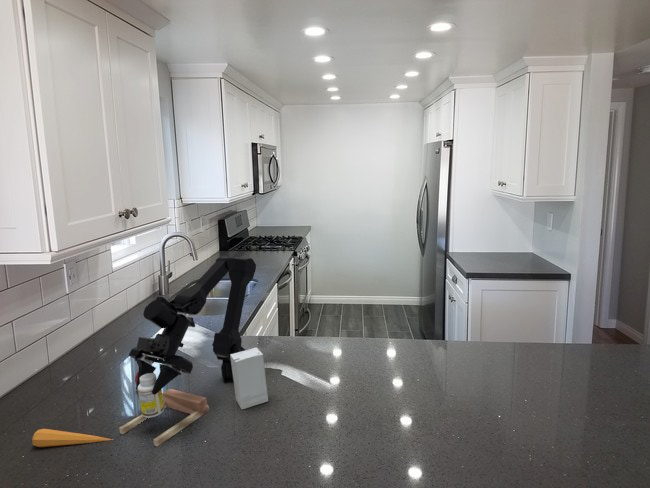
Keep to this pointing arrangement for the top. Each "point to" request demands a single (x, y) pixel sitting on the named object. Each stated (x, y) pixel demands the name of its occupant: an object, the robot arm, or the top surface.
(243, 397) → the skincare box
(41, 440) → the carrot
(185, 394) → the rail track
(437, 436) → the top surface
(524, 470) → the top surface
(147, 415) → the supplement bottle
